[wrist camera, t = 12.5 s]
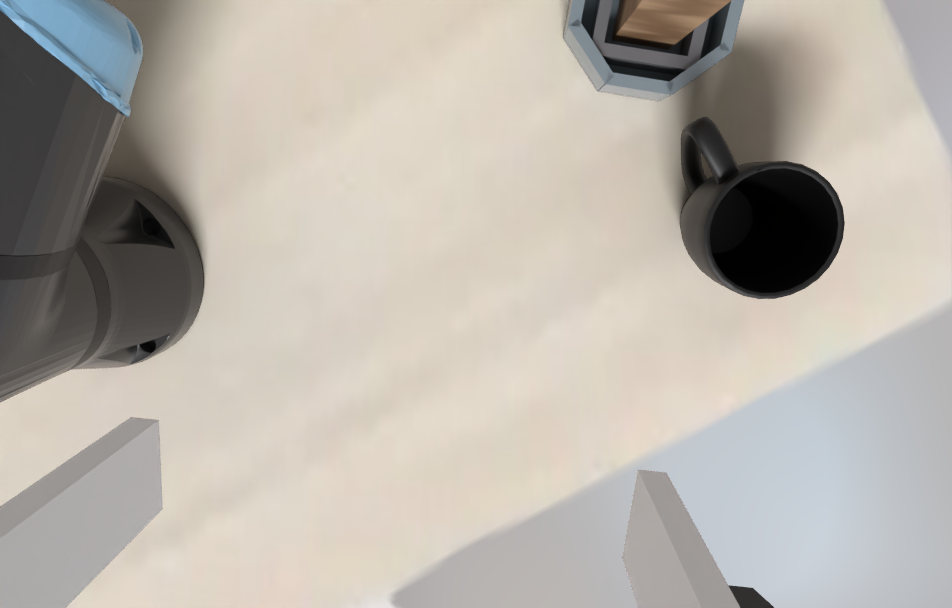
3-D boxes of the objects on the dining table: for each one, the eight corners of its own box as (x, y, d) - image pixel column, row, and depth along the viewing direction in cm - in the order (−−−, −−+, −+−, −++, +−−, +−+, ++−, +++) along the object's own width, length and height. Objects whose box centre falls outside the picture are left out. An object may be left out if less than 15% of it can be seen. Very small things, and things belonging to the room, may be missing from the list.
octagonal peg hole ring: (554, 84, 42) (558, 76, 38) (584, -81, 39) (591, -105, 36) (701, 108, 42) (718, 102, 38) (741, -57, 39) (763, -78, 36)
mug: (714, 95, 41) (774, 73, 32) (792, 234, 43) (870, 252, 34) (615, 161, 43) (644, 158, 33) (695, 293, 45) (744, 324, 35)
